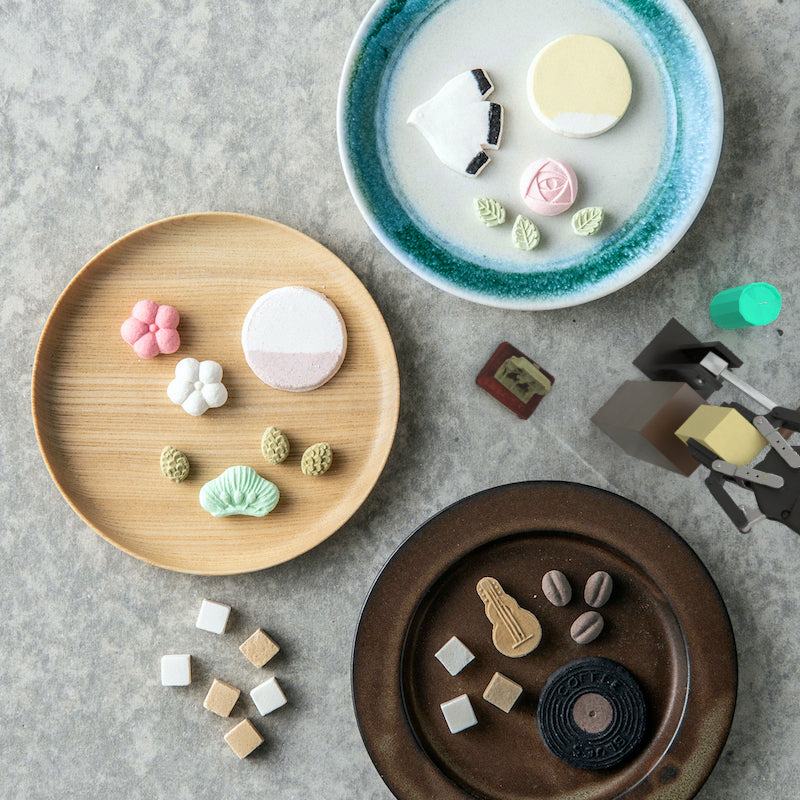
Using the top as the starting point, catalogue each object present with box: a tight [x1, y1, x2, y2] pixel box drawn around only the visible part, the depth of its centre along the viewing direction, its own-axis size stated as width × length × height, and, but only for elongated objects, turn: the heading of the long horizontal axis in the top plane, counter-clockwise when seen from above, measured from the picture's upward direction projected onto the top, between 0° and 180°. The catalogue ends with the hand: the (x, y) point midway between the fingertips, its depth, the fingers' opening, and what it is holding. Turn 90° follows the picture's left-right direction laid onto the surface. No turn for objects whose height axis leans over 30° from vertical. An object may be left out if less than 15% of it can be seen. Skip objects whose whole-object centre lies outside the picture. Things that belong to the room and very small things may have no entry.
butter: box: [675, 404, 768, 467], centre depth 75 cm, size 5×4×8 cm
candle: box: [709, 281, 783, 331], centre depth 101 cm, size 6×6×12 cm
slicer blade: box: [700, 351, 800, 442], centre depth 93 cm, size 14×6×2 cm, turn 48°
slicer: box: [631, 317, 745, 402], centre depth 101 cm, size 12×9×14 cm
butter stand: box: [590, 379, 712, 478], centre depth 96 cm, size 8×8×24 cm
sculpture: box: [474, 341, 556, 421], centre depth 101 cm, size 10×8×15 cm
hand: (706, 425), depth 75 cm, fingers closed on butter, 4 cm apart
